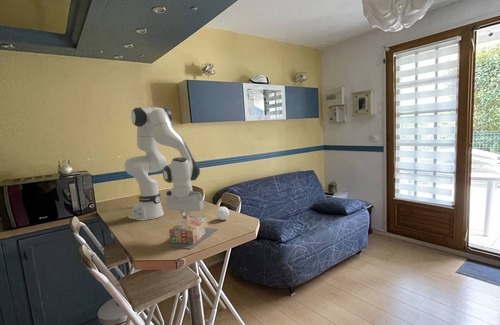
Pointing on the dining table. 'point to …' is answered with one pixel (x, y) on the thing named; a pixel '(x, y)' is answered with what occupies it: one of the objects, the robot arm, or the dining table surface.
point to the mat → (188, 246)
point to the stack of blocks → (188, 230)
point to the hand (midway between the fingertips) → (185, 218)
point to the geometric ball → (222, 213)
